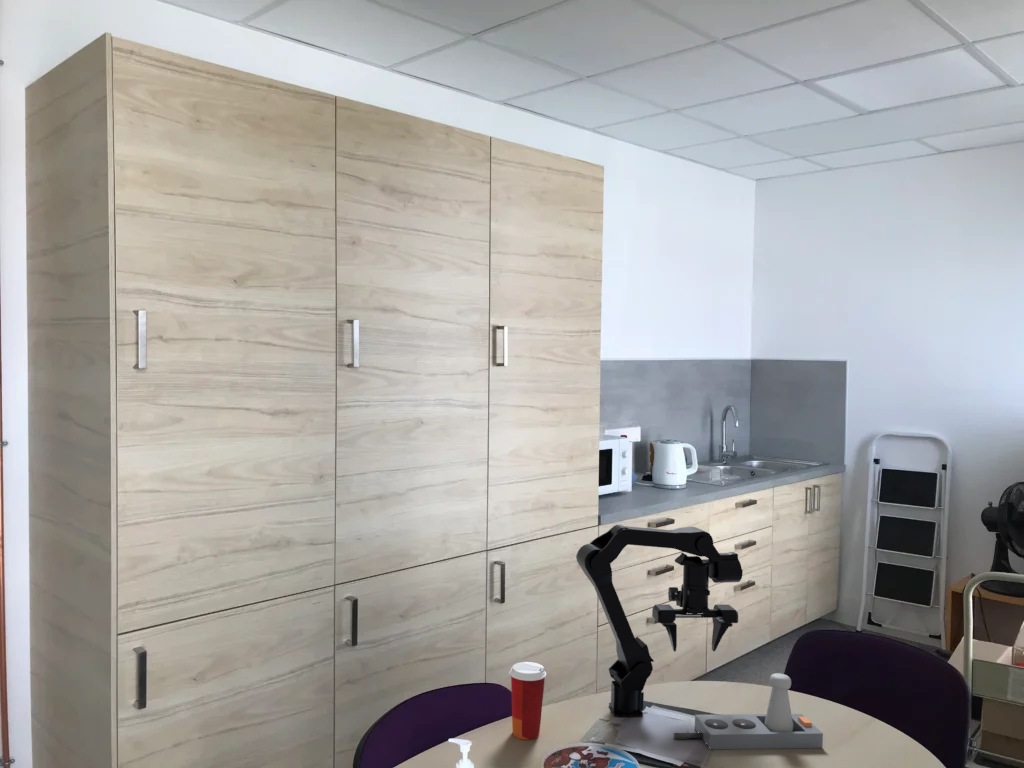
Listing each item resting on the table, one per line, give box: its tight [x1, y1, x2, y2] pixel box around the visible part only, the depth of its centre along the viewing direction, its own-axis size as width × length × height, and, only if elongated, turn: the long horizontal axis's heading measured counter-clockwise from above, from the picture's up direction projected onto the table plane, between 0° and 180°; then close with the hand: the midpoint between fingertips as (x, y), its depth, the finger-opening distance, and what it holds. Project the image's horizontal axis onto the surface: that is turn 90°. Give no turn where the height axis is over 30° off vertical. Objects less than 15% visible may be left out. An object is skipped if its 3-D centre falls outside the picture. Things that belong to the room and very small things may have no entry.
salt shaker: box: [764, 672, 793, 732], centre depth 169 cm, size 6×6×13 cm
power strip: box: [672, 713, 824, 750], centre depth 168 cm, size 30×10×4 cm, turn 95°
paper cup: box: [508, 661, 547, 741], centre depth 167 cm, size 8×8×14 cm
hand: (693, 650), depth 183 cm, fingers open, 9 cm apart
